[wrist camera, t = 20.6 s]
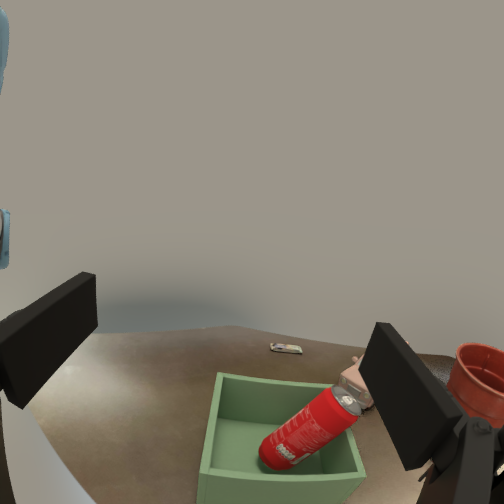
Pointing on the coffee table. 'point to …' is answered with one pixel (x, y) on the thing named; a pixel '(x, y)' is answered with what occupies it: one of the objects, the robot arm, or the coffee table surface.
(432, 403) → the robot arm
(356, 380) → the toy car
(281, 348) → the granola bar
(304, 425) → the beverage can
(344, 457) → the open square storage bin
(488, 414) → the flower pot
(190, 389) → the coffee table surface
